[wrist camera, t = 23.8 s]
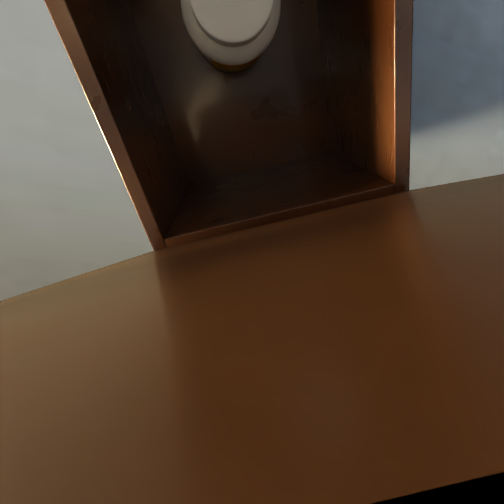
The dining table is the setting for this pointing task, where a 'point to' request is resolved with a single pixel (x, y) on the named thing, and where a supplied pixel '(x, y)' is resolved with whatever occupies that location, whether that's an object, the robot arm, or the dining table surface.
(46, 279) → the dining table surface
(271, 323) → the lid
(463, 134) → the dining table surface
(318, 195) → the chest
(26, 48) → the dining table surface
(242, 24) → the supplement bottle
